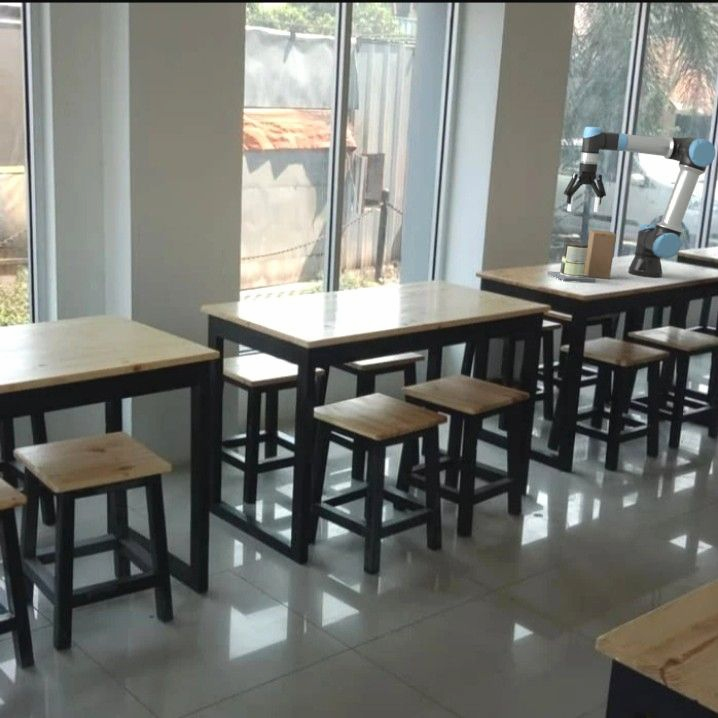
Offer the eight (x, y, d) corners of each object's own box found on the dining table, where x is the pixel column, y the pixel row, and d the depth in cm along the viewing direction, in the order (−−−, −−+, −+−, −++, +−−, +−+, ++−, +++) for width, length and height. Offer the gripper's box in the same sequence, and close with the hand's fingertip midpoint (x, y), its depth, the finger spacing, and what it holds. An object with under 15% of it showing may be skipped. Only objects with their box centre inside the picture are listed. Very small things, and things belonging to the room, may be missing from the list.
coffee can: (554, 273, 452) (559, 241, 449) (571, 272, 458) (575, 240, 455) (571, 277, 444) (576, 245, 441) (588, 277, 450) (593, 245, 447)
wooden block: (609, 279, 460) (616, 234, 455) (587, 277, 460) (594, 232, 455) (604, 275, 470) (611, 231, 465) (582, 273, 470) (589, 229, 465)
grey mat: (577, 275, 461) (577, 272, 461) (594, 282, 447) (595, 279, 447) (547, 274, 456) (547, 271, 456) (564, 281, 442) (564, 278, 442)
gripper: (608, 163, 461) (602, 211, 466) (559, 161, 452) (553, 209, 457) (617, 164, 454) (611, 213, 459) (568, 162, 445) (562, 212, 450)
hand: (582, 211), depth 458 cm, fingers open, 13 cm apart
